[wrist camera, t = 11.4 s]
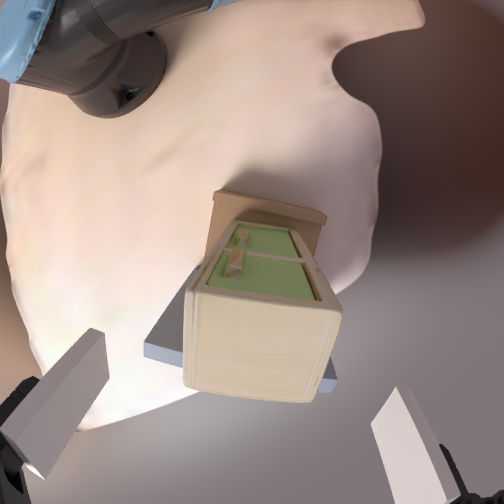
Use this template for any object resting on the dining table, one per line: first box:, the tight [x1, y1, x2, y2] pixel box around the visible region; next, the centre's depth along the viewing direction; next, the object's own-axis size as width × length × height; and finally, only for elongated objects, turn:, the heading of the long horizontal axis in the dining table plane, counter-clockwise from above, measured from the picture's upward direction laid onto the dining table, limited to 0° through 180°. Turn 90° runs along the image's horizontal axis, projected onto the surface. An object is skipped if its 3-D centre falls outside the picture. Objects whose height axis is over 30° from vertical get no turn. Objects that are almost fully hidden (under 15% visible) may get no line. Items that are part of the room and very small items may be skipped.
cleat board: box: [144, 190, 337, 393], centre depth 28 cm, size 13×16×18 cm
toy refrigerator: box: [183, 220, 343, 403], centre depth 24 cm, size 8×7×21 cm
